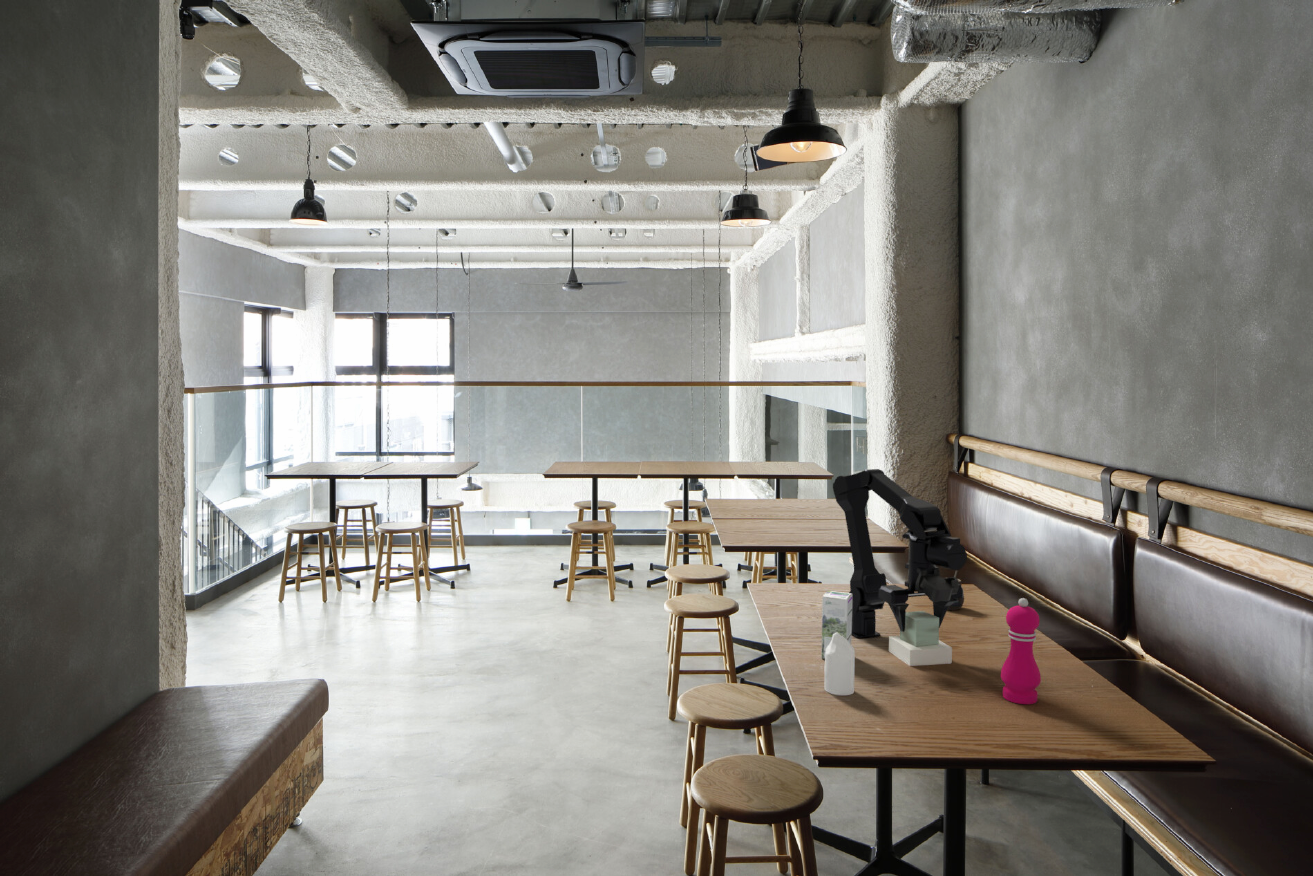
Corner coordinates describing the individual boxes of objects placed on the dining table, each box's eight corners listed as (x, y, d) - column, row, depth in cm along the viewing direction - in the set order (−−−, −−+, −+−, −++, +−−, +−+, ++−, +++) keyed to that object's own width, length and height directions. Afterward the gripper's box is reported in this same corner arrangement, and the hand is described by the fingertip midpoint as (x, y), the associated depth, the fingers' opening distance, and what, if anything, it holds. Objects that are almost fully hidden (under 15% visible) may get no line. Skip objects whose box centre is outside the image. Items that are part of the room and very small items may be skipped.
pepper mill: (1037, 708, 159) (1041, 605, 157) (996, 700, 163) (1000, 599, 161) (1042, 696, 165) (1046, 596, 164) (1003, 689, 169) (1006, 591, 167)
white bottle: (859, 631, 167) (849, 638, 162) (858, 689, 168) (847, 698, 163) (831, 626, 170) (820, 633, 166) (830, 683, 171) (819, 691, 167)
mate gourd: (933, 609, 228) (934, 573, 228) (939, 603, 235) (940, 568, 234) (960, 613, 224) (961, 576, 224) (966, 607, 231) (967, 571, 230)
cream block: (888, 653, 192) (889, 636, 192) (928, 651, 194) (929, 634, 194) (909, 668, 182) (910, 650, 182) (951, 665, 184) (952, 647, 184)
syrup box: (851, 655, 189) (853, 592, 188) (846, 663, 184) (847, 598, 183) (826, 651, 192) (828, 589, 191) (820, 659, 186) (821, 595, 185)
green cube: (899, 639, 190) (900, 613, 190) (922, 636, 192) (922, 610, 191) (915, 646, 184) (916, 620, 184) (938, 644, 186) (939, 617, 186)
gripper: (907, 571, 176) (905, 644, 177) (981, 566, 182) (978, 636, 183) (878, 560, 187) (876, 629, 188) (948, 556, 192) (946, 622, 194)
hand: (920, 629), depth 188 cm, fingers open, 9 cm apart
